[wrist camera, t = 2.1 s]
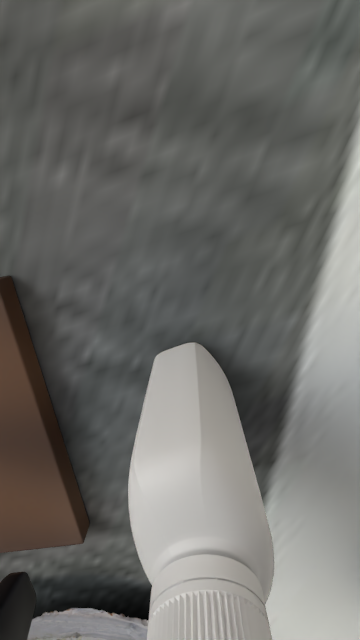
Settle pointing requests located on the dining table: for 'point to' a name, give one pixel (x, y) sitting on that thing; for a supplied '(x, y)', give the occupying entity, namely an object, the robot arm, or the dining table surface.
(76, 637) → the food plate
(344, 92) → the dining table surface
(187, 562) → the eye dropper bottle
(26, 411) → the walnut board
